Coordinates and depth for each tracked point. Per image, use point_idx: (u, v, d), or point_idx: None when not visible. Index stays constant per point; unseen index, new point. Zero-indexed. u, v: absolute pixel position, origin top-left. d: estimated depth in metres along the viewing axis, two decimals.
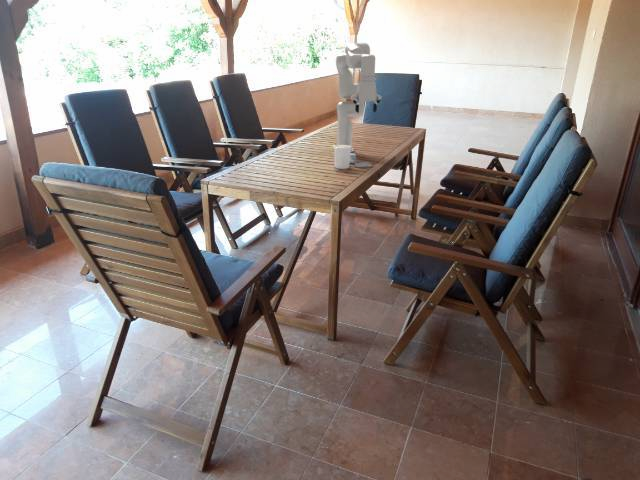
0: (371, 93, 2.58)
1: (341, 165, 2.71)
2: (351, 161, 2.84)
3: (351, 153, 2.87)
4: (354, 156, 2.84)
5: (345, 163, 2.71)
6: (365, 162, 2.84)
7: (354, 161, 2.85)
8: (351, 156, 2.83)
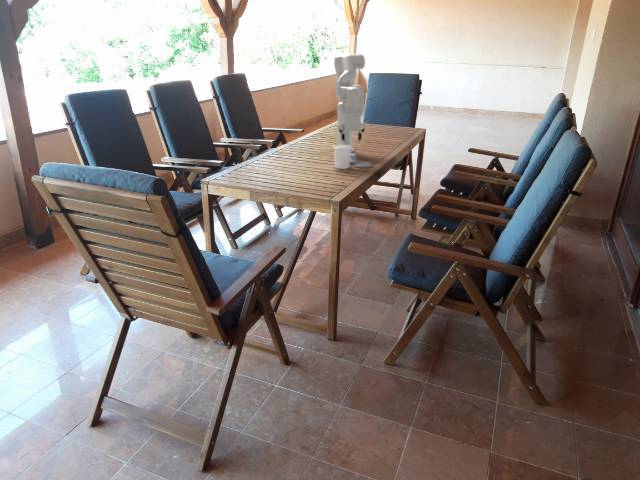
0: (356, 123, 2.76)
1: (341, 165, 2.71)
2: (351, 161, 2.84)
3: (351, 153, 2.87)
4: (354, 156, 2.84)
5: (345, 163, 2.71)
6: (365, 162, 2.84)
7: (354, 161, 2.85)
8: (351, 156, 2.83)
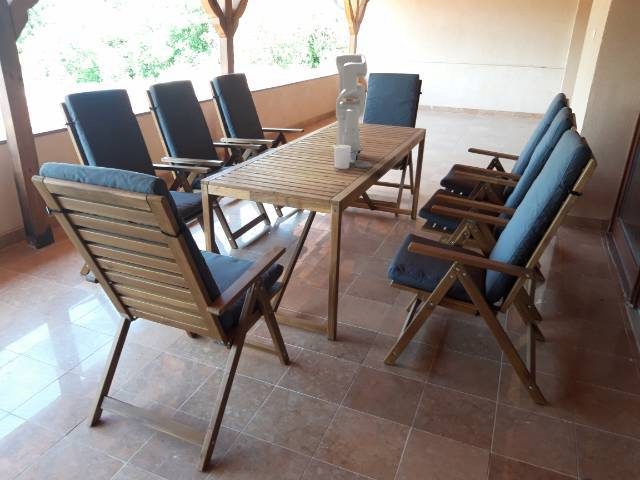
0: (355, 143, 2.81)
1: (341, 165, 2.71)
2: (351, 161, 2.84)
3: (351, 153, 2.86)
4: (354, 156, 2.84)
5: (346, 163, 2.71)
6: (365, 162, 2.84)
7: (354, 161, 2.85)
8: (351, 156, 2.83)
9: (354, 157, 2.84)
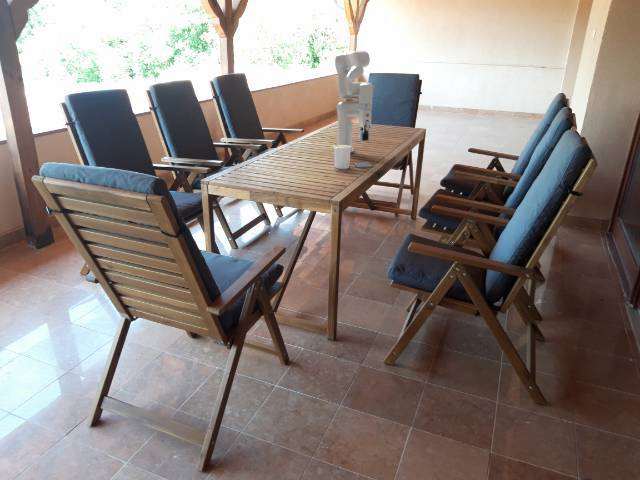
0: (361, 120, 2.68)
1: (341, 165, 2.71)
2: (359, 138, 2.73)
3: None
4: (360, 133, 2.71)
5: (345, 163, 2.71)
6: (365, 162, 2.84)
7: (360, 138, 2.72)
8: (359, 132, 2.72)
9: (360, 134, 2.71)
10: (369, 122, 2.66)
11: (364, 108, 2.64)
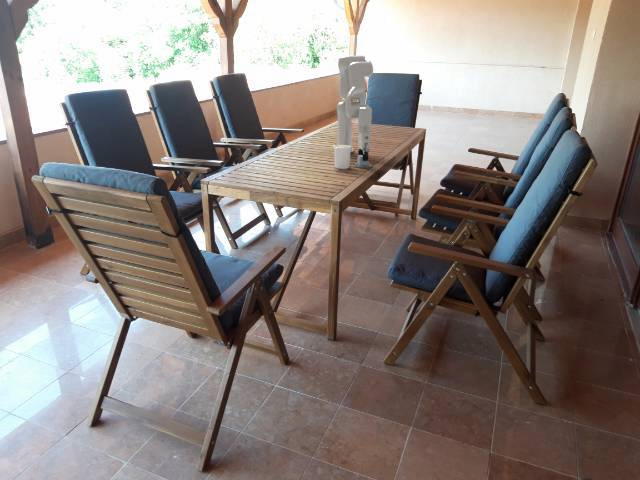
0: (360, 142, 2.72)
1: (341, 165, 2.71)
2: (358, 162, 2.79)
3: None
4: (359, 158, 2.76)
5: (345, 163, 2.71)
6: None
7: (359, 163, 2.77)
8: (358, 157, 2.78)
9: (359, 159, 2.77)
10: (368, 144, 2.71)
11: (363, 131, 2.69)
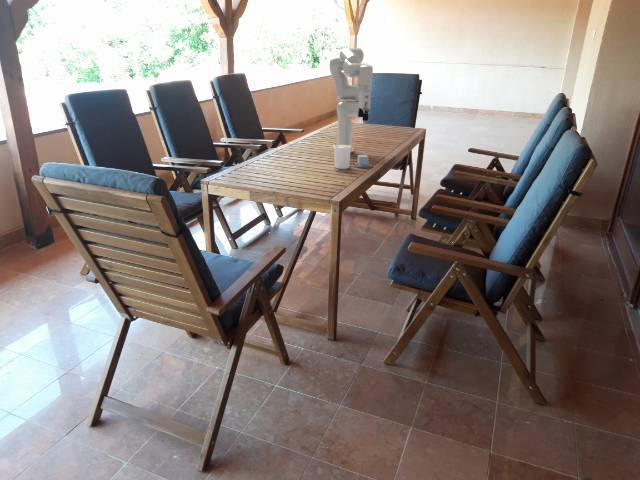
0: (360, 101, 2.73)
1: (341, 165, 2.71)
2: (358, 162, 2.79)
3: (365, 155, 2.77)
4: (359, 158, 2.76)
5: (346, 163, 2.71)
6: None
7: (359, 163, 2.77)
8: (358, 157, 2.78)
9: (359, 159, 2.77)
10: (368, 104, 2.71)
11: (364, 90, 2.69)
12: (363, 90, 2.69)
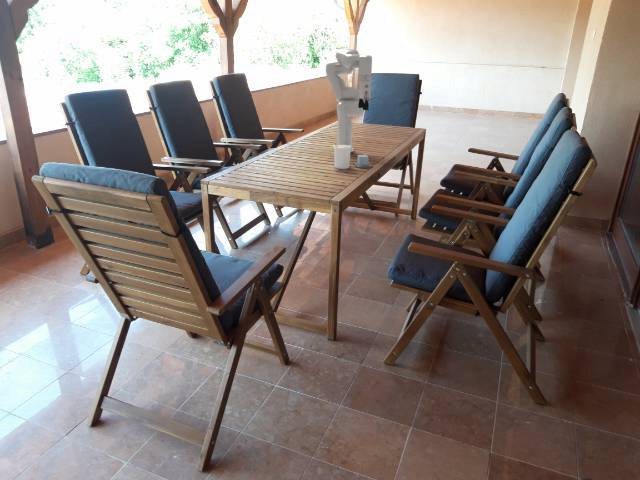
0: (361, 91, 2.75)
1: (341, 165, 2.71)
2: (358, 162, 2.79)
3: (365, 155, 2.77)
4: (359, 158, 2.76)
5: (345, 163, 2.71)
6: None
7: (359, 163, 2.77)
8: (358, 157, 2.78)
9: (359, 159, 2.77)
10: (368, 93, 2.74)
11: (363, 79, 2.72)
12: (363, 80, 2.72)
